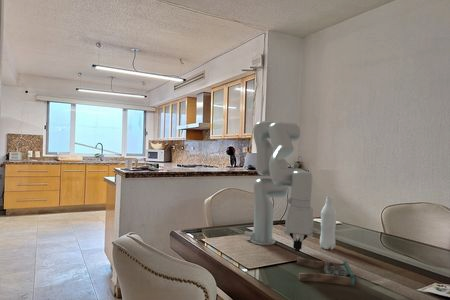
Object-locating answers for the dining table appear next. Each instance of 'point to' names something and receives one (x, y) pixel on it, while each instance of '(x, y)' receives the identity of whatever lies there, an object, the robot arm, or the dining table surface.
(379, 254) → the dining table surface
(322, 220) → the water bottle
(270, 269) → the dining table surface
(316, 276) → the guide
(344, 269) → the egg carton
